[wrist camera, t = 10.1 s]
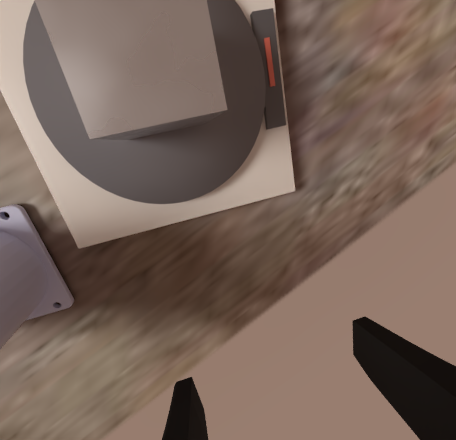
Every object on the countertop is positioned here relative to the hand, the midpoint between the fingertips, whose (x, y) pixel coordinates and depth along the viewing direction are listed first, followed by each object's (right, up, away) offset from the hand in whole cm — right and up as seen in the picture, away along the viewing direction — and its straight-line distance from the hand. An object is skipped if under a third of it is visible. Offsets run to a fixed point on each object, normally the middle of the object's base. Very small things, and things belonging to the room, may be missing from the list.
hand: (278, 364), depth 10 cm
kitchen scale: (-6, +13, +5) cm, 16 cm away
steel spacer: (-6, +13, +2) cm, 14 cm away
